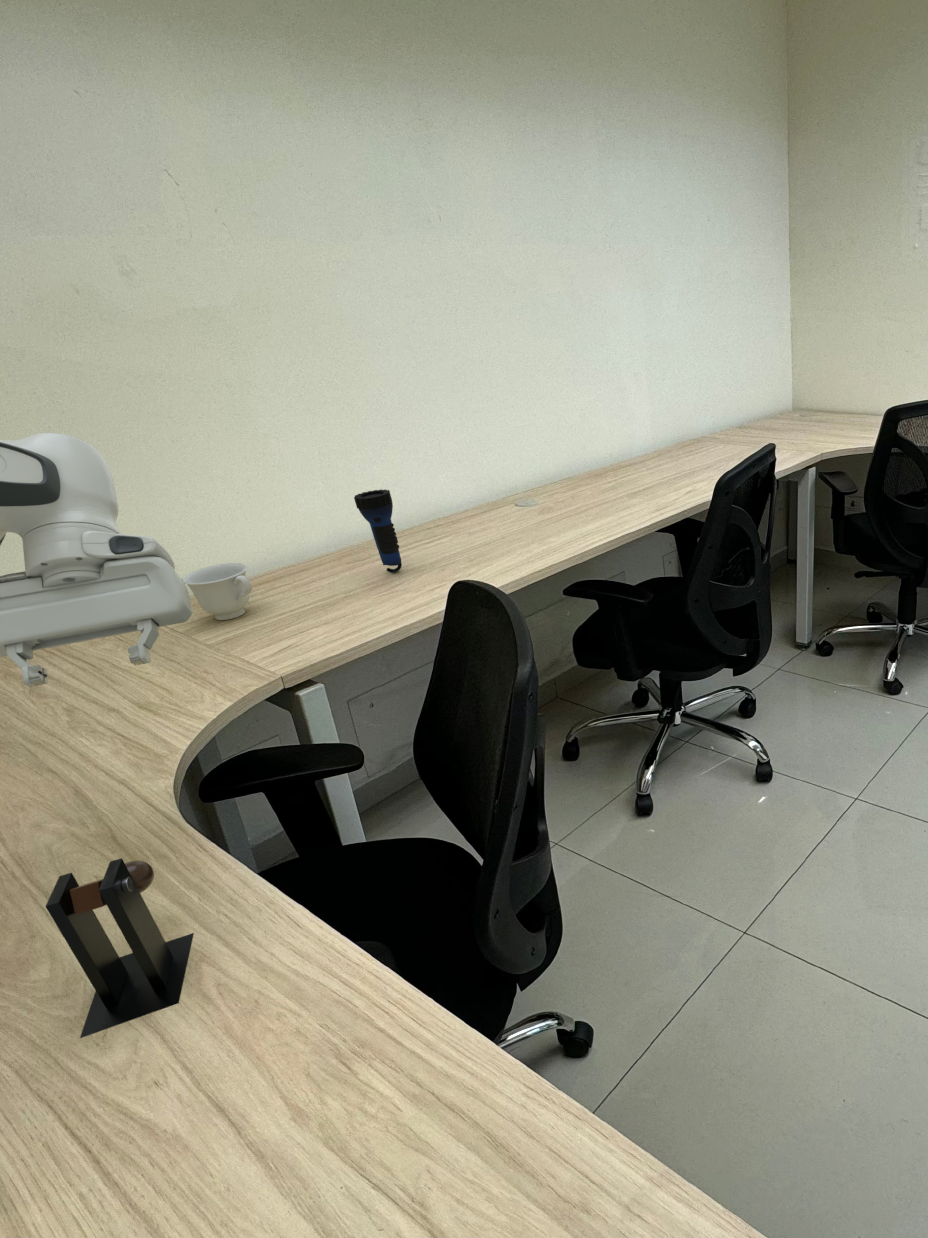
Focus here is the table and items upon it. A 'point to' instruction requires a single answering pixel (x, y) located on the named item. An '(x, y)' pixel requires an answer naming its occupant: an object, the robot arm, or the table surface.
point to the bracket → (117, 980)
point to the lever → (89, 893)
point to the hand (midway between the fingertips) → (89, 673)
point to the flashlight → (381, 524)
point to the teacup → (221, 589)
